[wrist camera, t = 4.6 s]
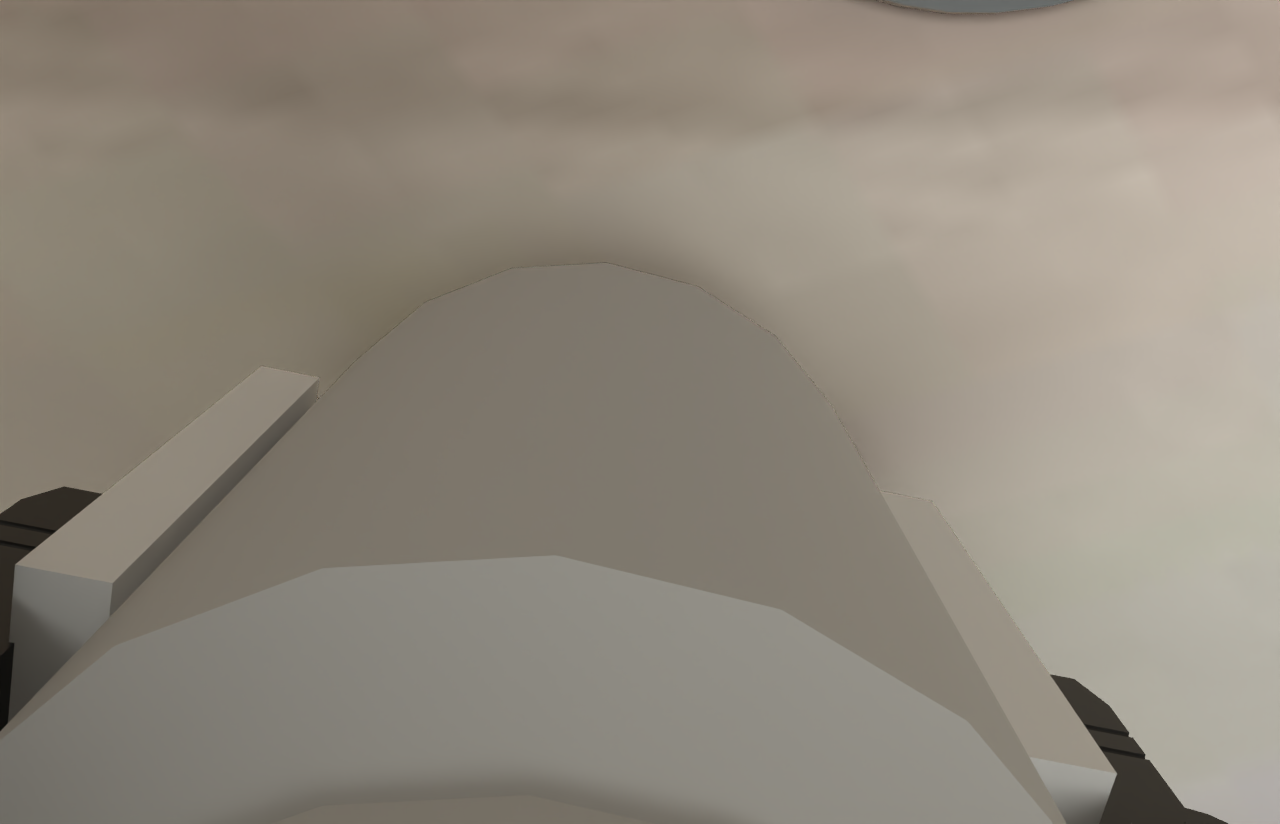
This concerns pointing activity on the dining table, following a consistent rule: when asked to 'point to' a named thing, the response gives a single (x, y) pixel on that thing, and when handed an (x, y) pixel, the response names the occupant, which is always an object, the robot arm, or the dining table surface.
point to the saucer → (972, 5)
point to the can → (537, 601)
